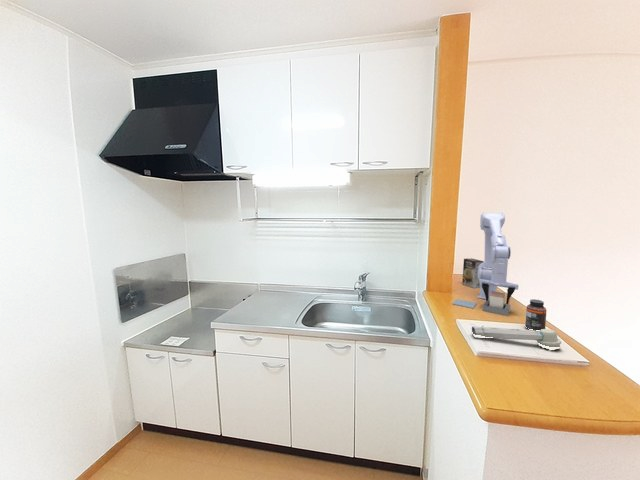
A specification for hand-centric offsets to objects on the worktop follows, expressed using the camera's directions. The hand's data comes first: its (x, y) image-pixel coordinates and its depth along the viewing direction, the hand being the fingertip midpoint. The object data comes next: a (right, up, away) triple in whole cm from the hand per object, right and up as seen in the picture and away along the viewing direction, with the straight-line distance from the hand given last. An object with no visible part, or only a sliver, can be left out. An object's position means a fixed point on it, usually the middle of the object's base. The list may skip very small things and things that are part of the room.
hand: (496, 301), depth 121 cm
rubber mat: (-10, -3, +9) cm, 14 cm away
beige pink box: (0, -4, 0) cm, 4 cm away
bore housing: (0, -4, 0) cm, 4 cm away
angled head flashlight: (-14, -8, -29) cm, 33 cm away
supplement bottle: (+2, -6, -19) cm, 20 cm away
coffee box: (+12, 0, +40) cm, 42 cm away
